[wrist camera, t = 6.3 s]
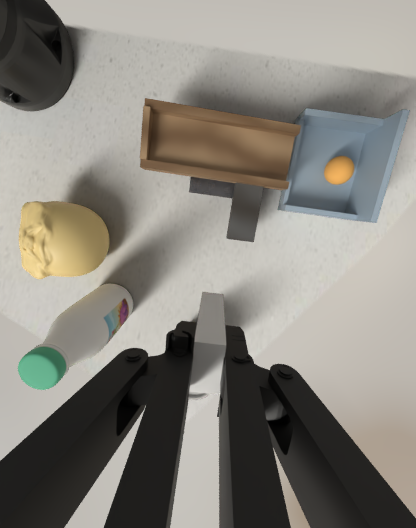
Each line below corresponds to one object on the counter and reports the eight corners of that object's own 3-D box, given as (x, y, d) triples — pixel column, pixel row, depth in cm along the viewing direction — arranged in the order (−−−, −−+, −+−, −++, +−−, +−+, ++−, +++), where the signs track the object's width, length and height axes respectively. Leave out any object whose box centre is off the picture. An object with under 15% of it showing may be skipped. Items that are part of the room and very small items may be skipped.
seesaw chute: (271, 243, 38) (277, 247, 35) (139, 226, 36) (135, 228, 34) (293, 130, 34) (302, 124, 31) (148, 105, 33) (144, 96, 30)
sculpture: (50, 196, 42) (-6, 194, 31) (119, 209, 42) (87, 210, 31) (49, 261, 45) (-3, 279, 34) (114, 273, 45) (82, 294, 34)
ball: (313, 170, 38) (334, 167, 34) (332, 151, 38) (354, 147, 34) (325, 190, 39) (345, 190, 36) (342, 173, 39) (365, 171, 36)
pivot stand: (237, 199, 41) (240, 198, 36) (189, 192, 41) (186, 190, 36) (250, 119, 38) (254, 108, 34) (199, 111, 38) (196, 100, 34)
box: (346, 219, 41) (376, 222, 33) (277, 209, 41) (291, 210, 33) (370, 129, 38) (409, 110, 30) (295, 119, 38) (316, 97, 30)
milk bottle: (85, 303, 46) (-12, 375, 27) (109, 273, 45) (24, 326, 25) (118, 328, 47) (48, 415, 28) (142, 300, 46) (86, 371, 26)
